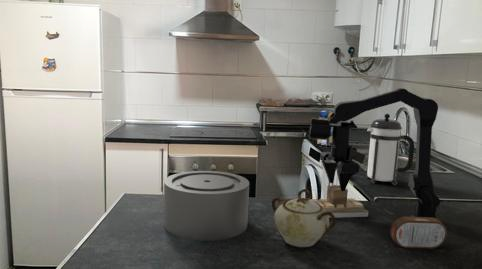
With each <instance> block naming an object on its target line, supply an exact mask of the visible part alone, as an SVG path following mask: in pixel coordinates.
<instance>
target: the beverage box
mask: <svg viewBox="0 0 482 269" xmlns="http://www.w3.org/2000/svg"><path fill="white" fill-rule="evenodd" d="M333 112H334V110H321V111H319V113H318V114H319V115H318V119H325V120H327V119H328V118H329V117H330V115H331V114H332V113H333ZM336 124H338V123H336ZM332 133H333V127H331V135H330V137H329V138H327V140H322V139H316V142H317V143H316V145H317V144H321V145H326V146H327V145H329V142H332Z"/></svg>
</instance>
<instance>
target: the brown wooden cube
mask: <svg viewBox="0 0 482 269" xmlns="http://www.w3.org/2000/svg"><path fill="white" fill-rule="evenodd" d="M326 187H327V188H326V189H327V190H326V198H325V199H326V200H327V201H328V202H330V203H331V204H332V205H339V204H347V198H348V194H349V193H348V192H349V190H348V188H346V189H345V191H341V188H340V184H339V185H338V184H337V185H336V184H333V185H327V186H326Z"/></svg>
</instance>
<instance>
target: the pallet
mask: <svg viewBox="0 0 482 269" xmlns="http://www.w3.org/2000/svg"><path fill="white" fill-rule="evenodd" d="M326 199H327V198H319V200H318V198H314V199H313V198H312V199H311V198H310V200H311V201H313V202H316V203H318V204H320V205H321V206H322V207H323V209H324V210H325V211H360V210H365V206H364V204H362V203H361V202H359V201H358V199H357V200H356V199H355V198H348V197H347V204H339V205H332V204H331V203H330V202H328V201H327V200H326Z"/></svg>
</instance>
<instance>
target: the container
mask: <svg viewBox="0 0 482 269" xmlns="http://www.w3.org/2000/svg"><path fill="white" fill-rule="evenodd" d="M163 181H164V184H163V185H164V186H163V228H164V230H166V232H168V233H169V234H171V235H173V236H175V237H178V238H181V239H185V240H192V241H205V242H207V241H221V240H227V239H230V238H234V237H237V236H239V235H241V234H243V233H244V232H246V230H247V229H248V219H249V218H248V216H249V196H250V181H249V180H248V179H247V178H246V177H244V176H241V175H238V174H235V173H232V172H231V173H230V172H225V171H215V170H194V171H193V170H192V171H191V170H190V171H183V172H182V171H181V172H177V173H175V174H171V175H168V176H167V177H166V178H165V179H164V180H163Z"/></svg>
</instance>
